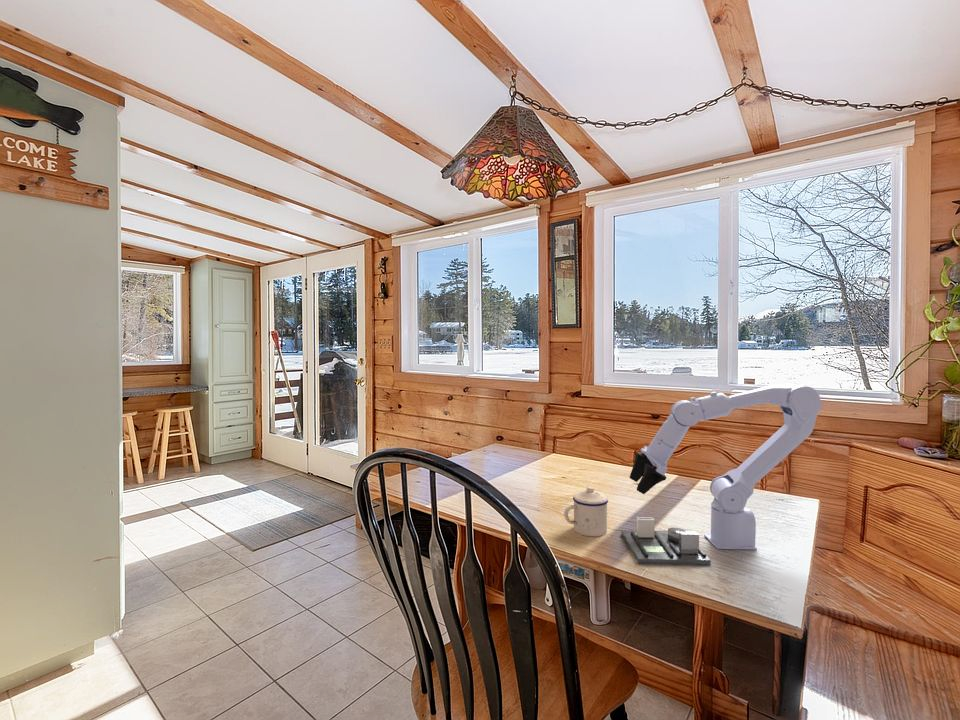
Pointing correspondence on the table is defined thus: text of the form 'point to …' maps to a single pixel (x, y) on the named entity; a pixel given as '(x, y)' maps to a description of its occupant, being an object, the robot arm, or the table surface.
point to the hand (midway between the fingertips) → (636, 485)
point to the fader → (645, 527)
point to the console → (666, 547)
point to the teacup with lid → (589, 513)
